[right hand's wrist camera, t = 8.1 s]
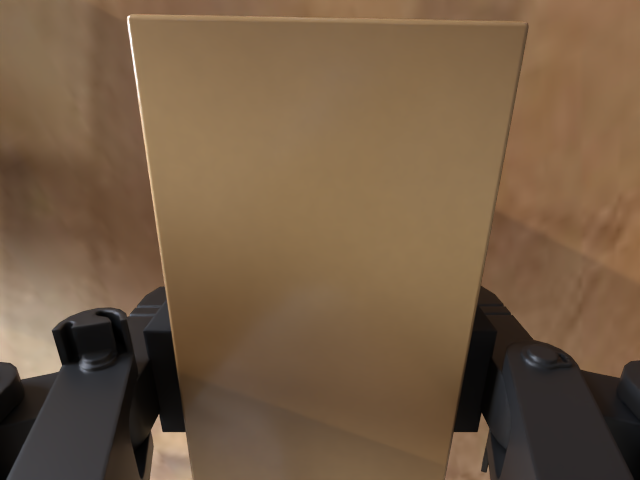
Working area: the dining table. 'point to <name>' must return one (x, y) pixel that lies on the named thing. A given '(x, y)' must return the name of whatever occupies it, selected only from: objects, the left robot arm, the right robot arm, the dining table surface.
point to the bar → (323, 230)
